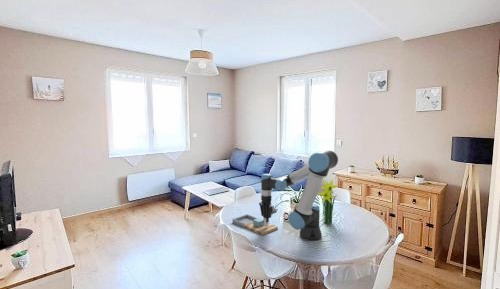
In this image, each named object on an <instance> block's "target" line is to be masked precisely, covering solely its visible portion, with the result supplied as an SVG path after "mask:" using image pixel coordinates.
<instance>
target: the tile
mask: <svg viewBox="0 0 500 289" xmlns="http://www.w3.org/2000/svg"><path fill="white" fill-rule="evenodd" d="M256 218H257V219H254V220H253V225H254V226H257V227H261V226H263V225H264V218H260V217H256Z"/></svg>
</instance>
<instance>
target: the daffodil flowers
mask: <svg viewBox="0 0 500 289" xmlns="http://www.w3.org/2000/svg"><path fill="white" fill-rule="evenodd" d="M323 183H324V184H325V185H322V186H321V185H320V187H321V188H322V192H318V193H317V195H319V196H320V198H321V203H322V206H323V208H322V210H323V211H322V217H323V224H325V225H327V226H329V224H330V225H331V224H333V212H334V203H335V199H336V197H337V196H338V195H337V194H335V195H333V194H334V191H333V189H336V188H338V187H339V185H336V184H335V185H334V184H333V183H334V179H333V178H332V179H331V180H330V181H329V183H328V182H327V181H325V180H323Z"/></svg>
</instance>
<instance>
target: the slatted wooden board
mask: <svg viewBox="0 0 500 289" xmlns="http://www.w3.org/2000/svg"><path fill="white" fill-rule="evenodd" d="M243 228H244V229H246V230H249V231H251V232H254V233H256V234H259V235H261V236H265V235H267V234H270V233H273V232H274V231H277V230H278V229H279V226H277V225H274V224H272V223H269V222H268V226H267V227H264V225H263V226H261V227H257V226H254V225H253V222H251V223H248V224H245V225H244V227H243Z"/></svg>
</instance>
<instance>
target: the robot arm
mask: <svg viewBox="0 0 500 289" xmlns="http://www.w3.org/2000/svg"><path fill="white" fill-rule="evenodd" d="M308 158H309V159H308V164H307V165H305V166H302V167H301V168H299V169H297V170H295V171H294V172H292V173H290V174H288V175H286V176H282V177H279V178H274V177H272V176H273V175H272V173H271V174H270V173H263V174H261V177H260V178H261V179H260V183H261V191H260V194H261V195H260V200H261V201H260V202H259V203H258V204H259V209H260V215H261V217H263V220H264V227H267V226H268V223H269V222H270V218H272V216H273V213H272V210H273V208H275V206H274V205H273V204H272V189H273V190H278V191H285V189H287V188H288V187H292V186H294V185H295V184H297V183H298V182H301V181H302V180H305V179H307V180H306V182H305V186H304V187H303V191H302V194H301V196H300V199H299V202H298V203H297V204H295V206H294V209H293V211H292V212H290V213H289V214H288V217H287V218H288V222H289V225H290V226H291V227H292V228H293V229H295V230H298V231H299V237H300V238H301V239H302V240H304V241H305V240H306V241H311V242H315V241H320V240H321V239H322V238H323V237H322V236H323V235H322V231H321V227H320V212H321V211H320V209H321V208H320V206H319V205H318V204H315V200H316V197H317V196H318V194H317V193H319V190H320V187H321V185H322V183H323V182H322V181H324V178H325V177H327V176H328V174H329V171H330V169H331V170H332V169H333V168H335V167H336V166H337V165H338V162H339V158H338V155H337V153H336V152H335V151H332V150H323V151H317V152H314V153H312V155H311V154H310V156H309V157H308Z"/></svg>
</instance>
